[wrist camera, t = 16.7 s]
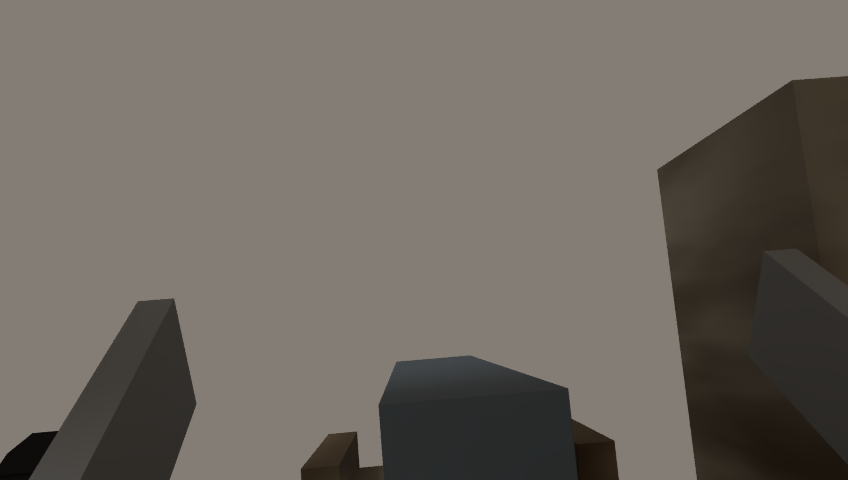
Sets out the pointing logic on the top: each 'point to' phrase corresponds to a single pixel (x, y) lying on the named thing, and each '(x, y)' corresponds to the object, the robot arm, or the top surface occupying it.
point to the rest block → (341, 476)
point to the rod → (474, 423)
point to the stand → (754, 270)
